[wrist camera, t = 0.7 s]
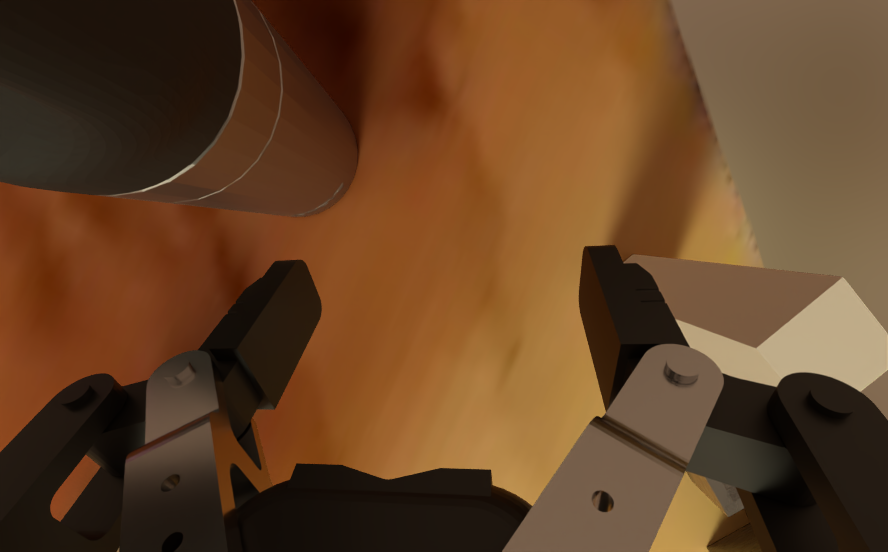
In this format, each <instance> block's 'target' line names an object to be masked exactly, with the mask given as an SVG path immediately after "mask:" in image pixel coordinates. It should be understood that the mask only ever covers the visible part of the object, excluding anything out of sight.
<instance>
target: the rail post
mask: <svg viewBox="0 0 888 552" xmlns="http://www.w3.org/2000/svg"><path fill="white" fill-rule="evenodd" d="M623 263H637V264H639V265H640V266H641V267H642V268H644V269H645V270H646V271H648V272H649V273H650V274H651V275H652V276H653V278H654V280H655V282H656V284H657V286H658V288H659V291H660V292H661V293H662V295H663V297H664V299H665V303H667V305H668V307H669V309H670V310H671V312H672V314H673V316H674V318H675V320H676V322H677V324H678V326H679V327H680V329H681V331H682V333H683V335H684V337H685V339H686V341H687V343H688V344H689V346H690V348H693V349H695V350H697V351H700V352H701V353H703V354H705V355H706V356H708V357H709V358H710V359H712V360H713V361H714V362H715V363H716V365H717V366H718V367H719V368H720V370H721V372H722V373H724V374H727V375H729V376H732V377H736V378H740V379H744V380H748V381H753V382H757V383H762V384H766V385H770V386H775V387H777V385H778V384H779V382H780V381H781V379H782V378H784V377H785V376H787V375H789V374H792V373H798V372H809V373H816V374H822V375H825V376H829V377H832V378H834V379H837V380H840V381H842V382H844V383H846V384H848V385H850V386H852V387H853V388H855V389H857V390H858V391H860V392H861V391H862V390H863V389H865V388H866V387H867V386H868V385H870V384H871V383H872V382H874V381H875V380H876V379H877V378H878V377H880V376H881V375H882V374H884V373H885V372H886V371H887V370H888V333H887V332H886V331H885V329H884V328H883V327H882V326H881V324H880V323H879V322H878V320H877V319H876V318H875V317H874V315H873V314H872V313H871V312H870V310H869V309H868V308H867V306H866V305H865V304H864V303H863V302H862V300H861V299H860V298H859V296H858V295H857V294H856V293H855V291H854V290H853V289H852V288H851V286H850V285H849V284H848V283H847V281H846V280H845V279H844V277H839V276H830V275H821V274H812V273H802V272H794V271H784V270H775V269H766V268H757V267H748V266H738V265H729V264H720V263H711V262H701V261H692V260H683V259H674V258H665V257H655V256H646V255H637V254H633V255H631V256H630V257H629V258H628V259H627V260H626V261H624V262H623Z"/></svg>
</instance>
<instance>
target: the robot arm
mask: <svg viewBox="0 0 888 552" xmlns="http://www.w3.org/2000/svg"><path fill="white" fill-rule="evenodd" d="M357 158H358V149H357V143H356V138H355V135H354V132H353V130H352V127H351V125H350V123H349V122H348V120H347V118H346V117H345V115H344V114H343V112H342V111H341V110H340V109H339V107H338V106H337V105H336V104H335V103H334V101H333V100H332V99H331V98H330V96H329V95H328V94H327V92H326V91H325V90H324V89H323V87H322V86H321V85H320V84H319V83H318V81H317V80H316V79H315V78H314V76H313V75H312V74H311V73H310V72H309V70H308V69H307V68H306V67H305V65H304V64H303V63H302V62H301V61H300V59H299V58H298V57H297V56H296V54H295V53H294V52H293V51H292V50H291V48H290V47H289V46H288V45H287V43H286V42H285V41H284V40H283V39H282V37H281V36H280V35H279V34H278V32H277V31H276V30H275V29H274V28H273V26H272V25H271V24H270V23H269V21H268V20H267V19H266V18H265V17H264V15H263V14H262V13H261V12H260V10H259V9H258V8H257V7H256V6H255V4H254V3H253V2H252V1H251V0H0V182H4V183H9V184H13V185H18V186H23V187H29V188H37V189H44V190H52V191H60V192H70V193H79V194H89V195H99V196H108V197H117V198H126V199H135V200H144V201H156V202H165V203H174V204H183V205H192V206H201V207H210V208H219V209H228V210H237V211H246V212H255V213H264V214H272V215H281V216H290V217H303V216H309V215H313V214H317V213H320V212H322V211H324V210H326V209H328V208H330V207H331V206H332V205H334V204H335V203H336V202H337V201H339V200H340V199H341V198H342V196H343V195H344V194H345V193H346V191H347V190H348V188H349V186H350V184H351V182H352V180H353V178H354V175H355V171H356V167H357ZM579 308H580V314H581V318H582V321H583V325H584V329H585V333H586V337H587V341H588V345H589V348H590V352H591V356H592V360H593V364H594V368H595V371H596V375H597V379H598V383H599V387H600V391H601V395H602V398H603V402H604V406H605V410H606V413H605V415H604V416H603V417H602V418H600V417H599V416H596V417H595V418H593V420H592V421H591V422H590V423H589V424H588V426H587V427H586V429H585V430H584V431H583V433H582V434H581V436H580V437H579V439H578V440H577V442H576V443H575V445H574V446H573V448H572V449H571V451H570V452H569V454H568V455H567V457H566V458H565V459H564V461H563V462H562V464H561V465H560V467H559V468H558V470H557V471H556V473H555V474H554V476H553V477H552V479H551V480H550V482H549V483H548V484H547V486H546V487H545V489H544V490H543V492H542V493H541V495H540V496H539V498H538V499H537V501H536V502H535V504H534V505H533V506H531V505H530V504H529V503H528V502H526V501H525V500H523V499H522V498H520V497H518V496H517V495H515V494H513V493H511V492H509V491H507V490H505V489H502V488H499V487H496V486H493V485H492V475H491V470H481V469H450V468H439V469H435V470H430V471H426V472H422V473H417V474H413V475H408V476H404V477H400V478H395V479H390V480H387V479H382V478H379V477H376V476H373V475H370V474H367V473H364V472H361V471H358V470H355V469H352V468H349V467H346V466H343V465H326V464H296V466H295V469H294V471H293V474H292V476H291V479H290V480H288V481H285V482H282V483H279V484H276V485H274V486H273V484H272V482H271V479H270V476H269V472H268V468H267V464H266V460H265V456H264V452H263V448H262V444H261V440H260V437H259V433H258V429H257V425H256V422H255V421H254V419H253V418H252V417H253V415H254V413H255V412H256V410H257V409H275V408H276V406H277V404H278V402H279V400H280V398H281V396H282V394H283V392H284V390H285V388H286V386H287V384H288V382H289V380H290V378H291V376H292V374H293V372H294V370H295V368H296V366H297V364H298V362H299V360H300V358H301V356H302V354H303V352H304V350H305V348H306V346H307V344H308V342H309V340H310V338H311V336H312V334H313V332H314V330H315V328H316V326H317V324H318V322H319V320H320V317H321V311H322V306H321V300H320V297H319V295H318V292H317V290H316V287H315V285H314V282H313V280H312V277H311V275H310V272H309V270H308V267H307V265H306V263H305V262H304V261H303V260H285V261H275V262H274V263H273V264H272V265H271V267H270V268H269V269H268V271H267V272H266V273H265V275H264V276H263V277H262V278H260V279H258V280H257V281H256V282H254V283H253V284H252V285H250V286H249V287H248V288H246V289H245V290H244V292H243V293H242V294H241V296H240V297H239V298H238V299H237V301H236V304H234V305H233V306H232V307H231V308H230V310H229V311H228V315H225V316H224V317H223V319H222V320H221V321H220V322H219V324H218V325H217V326H216V328H215V329H214V330H213V331H212V333H211V334H210V335H209V337H208V338H207V339H206V340H205V342H204V343H203V344H202V346H201V347H200V348H199V349H198V350H193V351H188V352H184V353H182V354H179V355H177V356H175V357H173V358H171V359H169V360H167V361H166V362H165V363H163V364H162V365H161V366H160V367H158V368H157V369H156V370H155V371H154V373H153V374H152V375H151V376H150V378H149V380H145V381H142V382H138V383H134V384H130V385H126V386H121V385H120V384H119V383H118V382H117V381H116V380H115V379H114V378H113V377H112V376H111V375H109V374H95V375H91V376H88V377H85V378H83V379H80V380H78V381H76V382H74V383H73V384H71V385H69V386H68V387H66V388H65V389H63V390H62V391H61V392H59V393H58V394H57V395H56V396H55V397H54V398H53V399H52V400H51V401H50V402H49V403H48V404H47V405H46V406H45V407H44V408H43V409H42V410H41V411H40V412H39V413H38V414H37V415H36V416H35V417H34V418H33V419H32V420H31V421H30V422H29V423H28V424H27V425H26V426H25V427H24V428H23V429H22V430H21V431H20V432H19V434H18V435H17V436H16V437H15V438H14V439H13V440H12V441H11V442H10V443H9V444H8V445H7V446H6V447H5V448H4V449H3V450H2V451H1V452H0V552H116V551H117V550H118V548H119V546H120V549H119V552H649V550H650V548H651V546H652V543H653V541H654V539H655V537H656V535H657V532H658V530H659V528H660V526H661V523H662V521H663V519H664V517H665V515H666V512H667V510H668V508H669V506H670V504H671V501H672V499H673V497H674V495H675V493H676V490H677V488H678V486H679V484H680V481H681V479H682V477H683V475H684V473H685V471H687V472H690V473H694V474H697V475H700V476H703V477H706V478H709V479H712V480H715V481H718V482H722V483H725V484H728V485H731V486H734V487H736V489H737V492H738V494H739V496H740V499H741V501H742V504H743V506H744V509H745V511H746V514H747V516H748V518H749V521H750V523H751V526H752V528H753V531H754V533H755V536H756V538H757V540H758V543H759V545H760V548H761V550H762V552H888V420H887V419H886V418H885V416H884V415H883V414H882V413H881V411H880V410H879V409H878V408H877V407H876V405H875V404H874V403H873V402H872V401H871V400H870V399H869V398H867V397H866V396H865V395H864V394H862V393H861V392H860V391H858V390H857V389H855V388H853V387H852V386H850V385H848V384H846V383H844V382H842V381H840V380H837V379H834V378H832V377H829V376H825V375H822V374H816V373H809V372H798V373H792V374H789V375H787V376H785V377H784V378H782V379H781V381H780V382H779V384H778V385H777V387H775V386H770V385H766V384H762V383H757V382H753V381H748V380H744V379H740V378H736V377H732V376H729V375H727V374H724V373H722V372H721V370H720V368H719V367H718V366H717V365H716V363H715V362H714V361H713V360H712V359H710V358H709V357H708V356H706V355H705V354H703V353H701V352H700V351H697V350H695V349H693V348H690V346H689V344H688V343H687V341H686V339H685V337H684V335H683V333H682V331H681V329H680V327H679V326H678V324H677V322H676V320H675V318H674V316H673V314H672V312H671V310H670V309H669V307H668V305H667V303H665V299H664V297H663V295H662V293H661V292H660V291H659V288H658V286H657V284H656V282H655V280H654V278H653V276H652V275H651V274H650V273H649V272H648V271H646V270H645V269H644V268H642V267H641V266H640V265H639V264H637V263H623V261H622V259H621V257H620V255H619V252H618V250H617V248H616V246H615V245H605V246H585V247H584V250H583V256H582V266H581V276H580V286H579ZM85 454H86V455H87V456H88V457H90V458H91V459H92V460H93V461H94V462H96V463H97V464H98V465H99V466H101V468H100V469H99V470H98V472H97V473H96V474H95V476H94V477H93V478H92V480H91V481H90V482H89V484H88V485H87V487H86V488H85V489H84V491H83V492H82V493H81V495H80V496H79V497H78V499H77V500H76V501H75V503H74V504H73V506H72V507H71V508H70V510H69V511H68V512H67V514H66V515H65V516H64V518H63V519H62V520H61V522H59V521H58V520H56V519H55V518H53V516H52V515H51V512H50V504H51V501H52V498H53V496H54V494H55V493H56V491H57V490H58V489H59V487H60V486H61V485H62V484H63V482H64V481H65V480H66V479H67V477H68V476H69V475H70V474H71V472H72V471H73V470H74V468H75V467H76V466H77V465H78V463H79V462H80V461H81V460H82V458H83V457H84V456H85Z"/></svg>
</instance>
